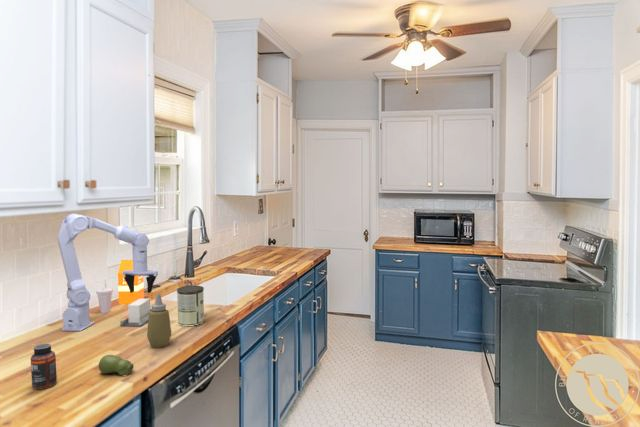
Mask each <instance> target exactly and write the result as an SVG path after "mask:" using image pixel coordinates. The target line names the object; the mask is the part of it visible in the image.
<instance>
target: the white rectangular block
mask: <svg viewBox="0 0 640 427" xmlns="http://www.w3.org/2000/svg"><path fill="white" fill-rule="evenodd" d="M150 309H151V298H144V299H141V298H140V299H138V300H136V301H134V302H133V303H131V304H127V311H128V312H127V313H128V315H127V316H128V319H129V323H139V321H140V320H141V319H142V318H144V317H145V316H147V315H148V314H149V312H150Z"/></svg>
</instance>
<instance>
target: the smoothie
mask: <svg viewBox="0 0 640 427" xmlns="http://www.w3.org/2000/svg"><path fill="white" fill-rule="evenodd" d="M113 291H114V290H113V288H110V287H109V288H108V287H107V279H104V288H99V289H97V290H96V291H95V292H96V294H97V295H96V296H97V299H98V305H99V312H100V313H101V314H107V313H110V312H111V303H112V295H113Z"/></svg>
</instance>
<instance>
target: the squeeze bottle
mask: <svg viewBox="0 0 640 427" xmlns="http://www.w3.org/2000/svg"><path fill="white" fill-rule="evenodd" d="M166 305H167V304H166V303H164V302H163V300H162V296H161V294H160V293H158V294H156V295H155V300H154V303H153V304H150V307H151V309H152V311H150V312H149V317H148V322H147V331H146V337H147V339H148V342H149V345H150V347H152V348H155V347H156V348H162V347H163V346H164V347H166V346H168V345H169V343H170V339H171V336H172V328H171V321H170V312H169V310H168V309H167V307H166Z"/></svg>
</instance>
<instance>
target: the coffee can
mask: <svg viewBox="0 0 640 427" xmlns="http://www.w3.org/2000/svg"><path fill="white" fill-rule="evenodd" d="M204 290H205V288H204V286H201V285H185V286H180V287H178V288H177V289H176V292H177V293H176V294H177V324H179V325H178V326H180V325H184V326H189V325H196V324H200V323H202V322H203V321H204V322H205V306H204V305H205V304H204ZM202 324H203V323H202ZM184 326H183V327H184Z"/></svg>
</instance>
